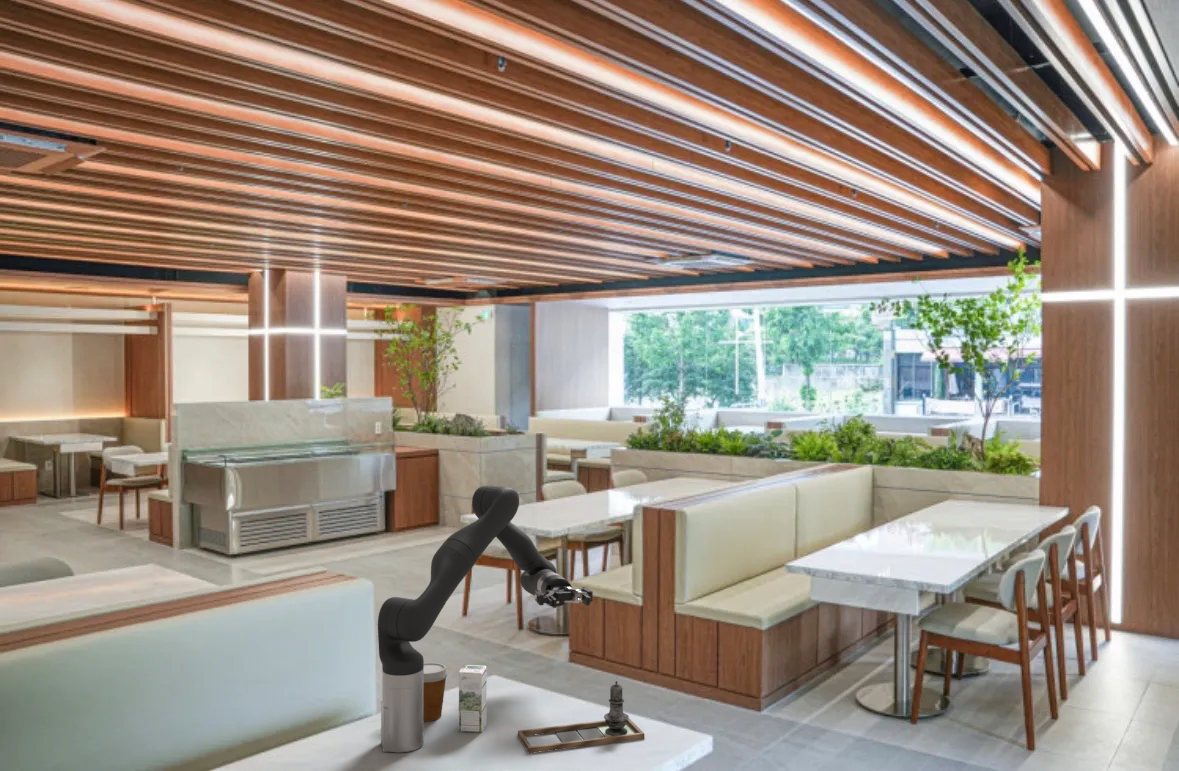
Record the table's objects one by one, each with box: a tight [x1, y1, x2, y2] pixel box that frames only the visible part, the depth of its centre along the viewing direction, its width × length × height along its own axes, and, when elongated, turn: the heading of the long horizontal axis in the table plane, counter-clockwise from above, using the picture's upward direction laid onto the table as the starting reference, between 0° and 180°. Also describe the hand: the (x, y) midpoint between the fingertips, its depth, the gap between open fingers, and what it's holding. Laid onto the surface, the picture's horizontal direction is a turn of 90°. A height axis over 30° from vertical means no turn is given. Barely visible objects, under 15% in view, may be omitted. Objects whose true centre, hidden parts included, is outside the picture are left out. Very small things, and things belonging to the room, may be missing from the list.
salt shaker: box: [603, 680, 630, 736], centre depth 211 cm, size 6×6×12 cm
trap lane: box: [517, 718, 645, 754], centre depth 208 cm, size 28×11×1 cm, turn 108°
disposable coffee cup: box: [423, 662, 449, 722], centre depth 221 cm, size 10×10×12 cm
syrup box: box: [458, 664, 488, 734], centre depth 213 cm, size 6×6×14 cm
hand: (571, 602), depth 222 cm, fingers open, 8 cm apart
